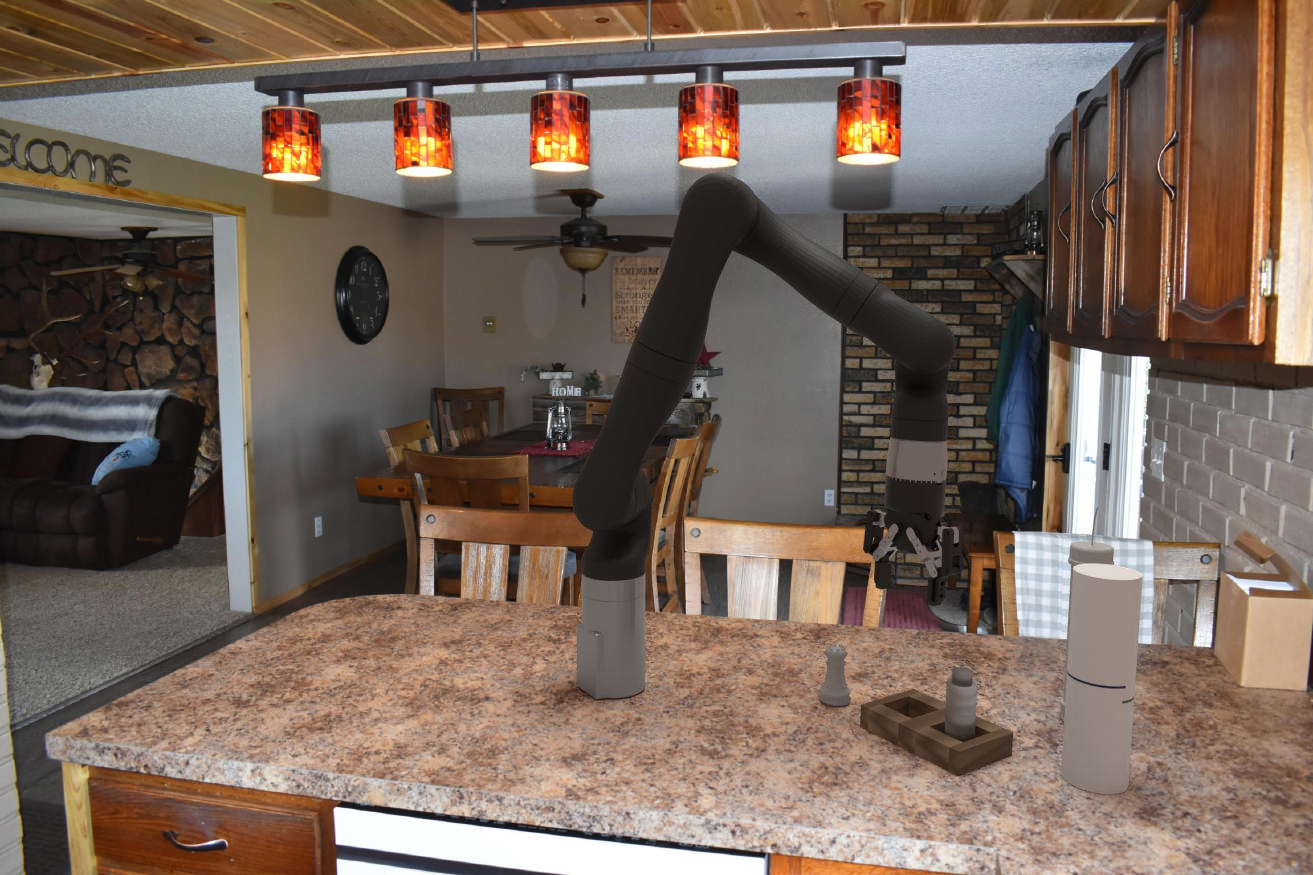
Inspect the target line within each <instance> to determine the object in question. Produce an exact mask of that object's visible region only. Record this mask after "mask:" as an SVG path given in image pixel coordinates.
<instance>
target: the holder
mask: <svg viewBox="0 0 1313 875" xmlns="http://www.w3.org/2000/svg"><path fill="white" fill-rule="evenodd" d="M973 673H974V672H973V670H972V669H971V668H967V667H963V666H956V667H953V668H952V670H951V677H949V678H948V679H947V680H946V684H945V685H946V688H945V702H944V701H942V700H940V699H937V698H935V697H933V696H931V695H928V694H926V693H923V692H922V691H919V690H918V689H914V688H912V689H908V690H905V691H901V692H898V693H895V694H892V695H888V696H886V697H882V698H879V699H875V700H871V701H869V702H865V703H861V704H860V721H859V726H860V727H861V728H862V729H865V730H867V731H869V732H870V733H872V734H875V735H877V736H879V737H880V738H883V739H884V740H886V741H888V742H890V743H892V744H894V745H896V746H898V747H900V748H902V749H903V750H906V751H908V752H909V753H912V754H914V755H916V756H918V757H920V758H921V759H924V760H926V761H928V762H930V763H932V764H933V765H936V766H937V767H939V768H941V769H943V770H945V771H947V772H950V773H951V774H953V775H955V776H957V777H959V776H962V775H964V774H967V773H969V772H972V771H975V770H977V769H979V768H982V767H985V766H989V765H991V764H993V763H996V762H998V761H1000V760H1003V759H1006V758H1008V757H1010V756H1013V744H1014V743H1013V742H1014V732H1013V731H1012V730H1010V729H1008V728H1004V727H1003V726H1000V725H998V724H995V723H994V722H992V721H988V720H986V719H984V718H982V717H979V716H977V700H978V699H977V698H978V683H977V682H976V681H974V680H973Z"/></svg>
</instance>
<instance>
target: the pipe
mask: <svg viewBox="0 0 1313 875" xmlns="http://www.w3.org/2000/svg"><path fill="white" fill-rule="evenodd" d="M1098 511H1099V506H1096V509H1095V512H1094V515H1093V516H1094V517H1093V523H1092V531H1091V540H1089V541H1087V540H1079V541H1078V540H1077V541H1074V542H1071V544H1070V545H1069V556H1068V558H1067V563H1068V565H1069V564H1070V579H1069V580H1070V583H1069V598H1068V599H1069V600H1068V613H1067V614H1068V616H1067V628H1066V629H1067V632H1066V651H1065V665H1064V666H1065V667H1064V680H1063V681H1064V684H1063V696H1062V697H1060V699H1059V706H1060V715H1059V717H1060V719H1061V721H1062V722H1063V723H1064V715H1065V698H1066V681H1067V664H1068V647H1069V629H1070V612H1071V595H1072V579H1073V567H1074V566H1076V565H1079V564H1089V563H1096V564H1109V565H1115V561H1114V553H1115V547H1113V546H1112V545H1110V544H1108V543H1104V542H1099V541H1094V535H1095V528H1096V526H1095V525H1096V519H1097V515H1098Z"/></svg>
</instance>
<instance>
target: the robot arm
mask: <svg viewBox="0 0 1313 875" xmlns="http://www.w3.org/2000/svg"><path fill="white" fill-rule="evenodd" d="M678 213H679V214H678V218H677V221H676V225H675V228H674V231H673V236H672V240H671V243H670V247H669V252H668V255H667V258H666V261H665V265H664V268H663V270H662V272H661V275H660V277H659V280H658V282H657V284H656V286H655V289H654V290H653V292H652V295H651V297H650V300H649V302H648V304H647V307H646V309H645V311H644V315H643V317H642V319H641V322H640V324H639V327H638V329H637V331H636V333H635V336H634V338H633V342H632V344H631V347H630V349H629V352H628V355H627V358H626V359H625V362H624V366H623V370H622V371H621V372H622V373H621V375H620V377H619V381H618V382H617V385H616V388H615V391H614V394H613V396H612V399H611V402H610V405H609V408H608V410H607V413H606V416H605V419H604V422H603V425H602V427H601V429H600V432H599V434H598V436H597V437H596V440H595V443H594V444H593V446H592V448H591V450H590V452H589V454H588V457H587V459H586V460H585V462H584V465H583V466H582V468H581V469H580V472H579V474H578V476H577V478H576V479H575V482H574V486H573V488H572V489H573V490H572V495H571V503H572V508H573V512H574V515H575V517H576V519H577V521H578V522H579V523H580V524H581V525H582V526H583V527H584V528H586V529H587V530H590V531H592V535H591V538H590V540H589V543H588V545H587V547H586V548H585V550H584V551H583V554H582V556H581V622H579V623H577V624H576V628H575V629H576V686H577V687H578V688H579V689H581V690H582V691H584V692H585V693H587V694H588V695H589V696H591V697H592V698H594V699H595V700H601V699H622V698H629V697H632V696H635V695H638V694H639V693H641V692H642V691H643V690H644V689H646V564H647V563H646V562H647V558H648V555H649V552H650V548H651V541H652V538H651V537H652V536H651V535H652V518H653V516H652V514H653V511H652V510H653V507H652V506H653V505H652V504H653V502H652V501H653V498H652V496H653V495H652V488H651V483H650V481H649V479H648V476H647V474H646V472H645V471H644V470H643V469H642V465H643V462H644V459H645V457H646V456H647V453H648V451H649V449H650V446H651V445H652V444H653V441H654V440H655V438H656V437H657V436H658V434H659V433H660V431H661V430H662V429H663V427H664V426H665V424H666V423H667V422H668V421H669V419H670V418H671V416H672V415H673V414H674V412H675V411H676V409H677V408H678V406H679V404H680V403H681V401H682V400H683V397H684V396H685V394H686V392H687V390H688V387H689V385H690V383H691V381H692V378H693V376H694V373H695V371H696V367H697V366H698V362H699V361H700V358H701V355H702V351H703V348H704V345H705V340H706V336H707V331H708V324H709V319H710V314H711V313H710V312H711V306H712V302H713V297H714V293H715V290H716V287H717V284H718V282H719V280H720V277H721V275H722V273H723V271H724V268H725V266H726V264H727V262H728V260H729V258H730V256H731V254H732V252H734V253H736V254H739V255H741V256H743V257H745V258H748V259H749V260H751V261H754V262H756V263H757V264H759V265H761V266H762V267H764V268H765V269H766V270H769V271H770V272H772V273H773V274H774V275H776V276H778V277H779V278H780V279H781V280H782V281H784V282H785V283H787V284H788V285H789V286H790V287H791V288H793V289H794V290H795V291H796V292H797V293H798V294H800V296H801V297H803V298H804V299H805V300H807V301H808V302H810V303H811V304H812V305H813V306H815V308H818V309H819V310H820V311H821V312H823V313H824V314H826V315H827V316H829V317H830V318H832V319H833V320H835V321H836V322H838V323H839V324H841V325H842V326H844V327H845V328H847V329H848V330H850V331H851V332H853V333H855V334H857V335H859V336H861V337H864V338H865V339H867V340H869V341H870V342H872V343H873V344H874V345H875V346H877V347H878V348H879V349H881V350H882V351H884V352H885V353H886V354H887V355H889V356H890V357H891V358H893V359H894V399H893V404H892V409H891V419H890V420H891V421H890V422H891V423H890V439H889V445H888V449H887V456H886V466H885V467H886V470H885V485H884V500H883V505H884V507H885V508H886V509H887V510H886V511H885V509H883V508H880V509H871V510H868V511H867V512H866V517H865V518H866V520H865V528H864V537H863V544H862V545H863V546H862V550H863V552H864V553H865V554H869V555H870V556H871V557H872V559H873V560H874V574H873V581H874V582H873V583H874V584H875V585H874V586H875V588H876V589H879V590H881V591H882V590H888V589H889V588H890V587H891V581H892V566H893V561H892V560H891V559H892V558H893V556H894V555H895V554H896V553H897V551H907V552H908V553H910V554H914V555H917V556H918V559H919V560H920V562H922V563H924V565H925V567H926V569H927V572H928V573H929V575H930V576H928V577H927V588H926V605H927V606H930V607H936V606H940V605H941V604H942V603H943V602H944V601H945V599H946V589H947V587H946V586H947V578H948V577H949V576H953V575H954V576H955V575H959V574H961V573H962V572H963V539H964V538H963V535H964V534H963V533H964V532H963V529H962V527H961V526H950V527H949V526H944V525H943V524H942V520H941V517H942V514H943V512H944V510H945V502H946V488H947V477H948V476H947V474H948V472H947V471H948V461H949V460H948V459H949V458H948V442H947V441H948V429H949V410H950V409H949V401H948V398H947V393H948V392H947V390H948V383H949V382H948V381H949V369H950V363H951V361H952V360H953V358H954V356H955V353H956V345H957V344H956V338H955V335H954V333H953V331H952V329H951V328H950V327H949V326H948V325H947V324H946V323H945V322H943V321H942V320H940V318H939V319H938V318H937V317H936V316H934V315H933V314H931V313H930V312H927V311H925V310H924V309H922V308H920V307H919V306H917V305H916V304H913V303H911V302H910V301H908V300H906V299H904V298H902V297H900V296H898V295H897V294H895V292H893V291H892V290H891V289H890V288H889V287H888V286H886V285H885V284H884V283H881V282H880V281H878V280H877V279H876V278H874V277H873V276H871V275H870V274H868V273H867V272H865V271H864V270H862V269H861V268H859V267H857V266H856V265H854V264H852V263H851V262H850V261H847V260H846V259H844V258H843V257H841V256H840V255H837V254H836V253H835V252H833V251H830V250H828V249H827V248H825V247H823V246H822V245H820V244H818V243H817V242H815V241H813V240H812V239H810V238H808V237H807V236H805V235H804V234H802V233H801V232H800V231H798V230H796V229H795V228H794V227H792V226H791V225H789V223H787V222H786V221H784V220H783V219H782V218H781V217H780V216H779V215H777V214H776V213H775V212H774V210H772V209H771V208H770V207H769V206H767V204H766V203H765V202H764V201H762V199H760V198H759V197H758V195H756V194H755V193H754V191H753V189H752V188H751V187H750V186H749V185H748V184H747V183H746V182H744V181H743V180H741V179H739V178H737V177H735V176H733V175H731V174H729V173H724V172H711V173H707V174H705V175H703V176H701V177H700V178H698V179H697V180H695V181H694V182H693V183H692V184H691V185H690V187H689V188H688V190H687V191H686V193H685V194H684V197H683V199H682V202H681V206H680V209H679V212H678ZM885 528H886V530H887V532H886V533H885ZM884 533H885V535H884ZM929 550H931V551H929Z"/></svg>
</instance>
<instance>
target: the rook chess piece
mask: <svg viewBox="0 0 1313 875" xmlns="http://www.w3.org/2000/svg"><path fill="white" fill-rule="evenodd" d="M823 653H824V654H825V656H826V658H827V660H826V661H825V665H826V673H825V678H824V680H823V682H822V685H821V686H820V688H819V692H820V694H819V695H818V697H819V700H820V701H821V702H822V703H823V704H824V705H827V706H829V707H830V706H831V707H844V706H846V705H847V706H848V704H849V703H850V701H851V699H852V698H851V696H850V695H851V690H850V688H849V686H848V683H847V682H846V681H847V680H846V674H845V666H846V665H847V664H846V661H845V659H846V658H847V657H848V652H847V650H846V645H843V644H842V643H839V644H838V646H837V643H832V644H831V643H829V644H827V646H826V650H824V652H823Z"/></svg>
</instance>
